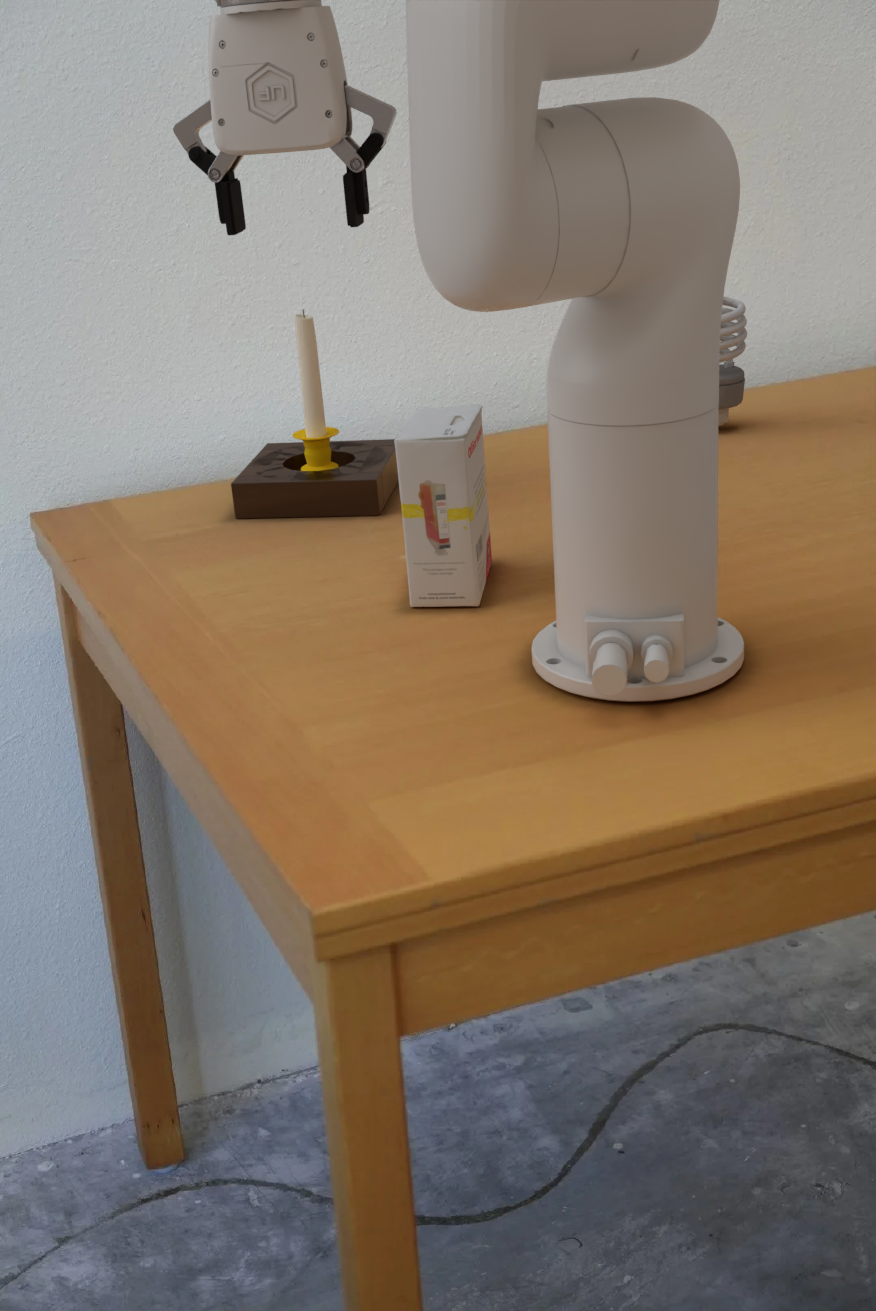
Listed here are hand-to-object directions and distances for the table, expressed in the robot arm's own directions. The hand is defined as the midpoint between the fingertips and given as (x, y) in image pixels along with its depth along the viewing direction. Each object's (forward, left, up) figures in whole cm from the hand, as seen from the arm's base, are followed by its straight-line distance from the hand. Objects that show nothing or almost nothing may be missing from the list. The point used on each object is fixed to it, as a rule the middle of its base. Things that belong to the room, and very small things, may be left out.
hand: (296, 229), depth 116 cm
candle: (0, 0, -22) cm, 22 cm away
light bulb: (+17, -33, -22) cm, 43 cm away
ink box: (-22, -14, -22) cm, 34 cm away
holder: (0, 0, -22) cm, 22 cm away
